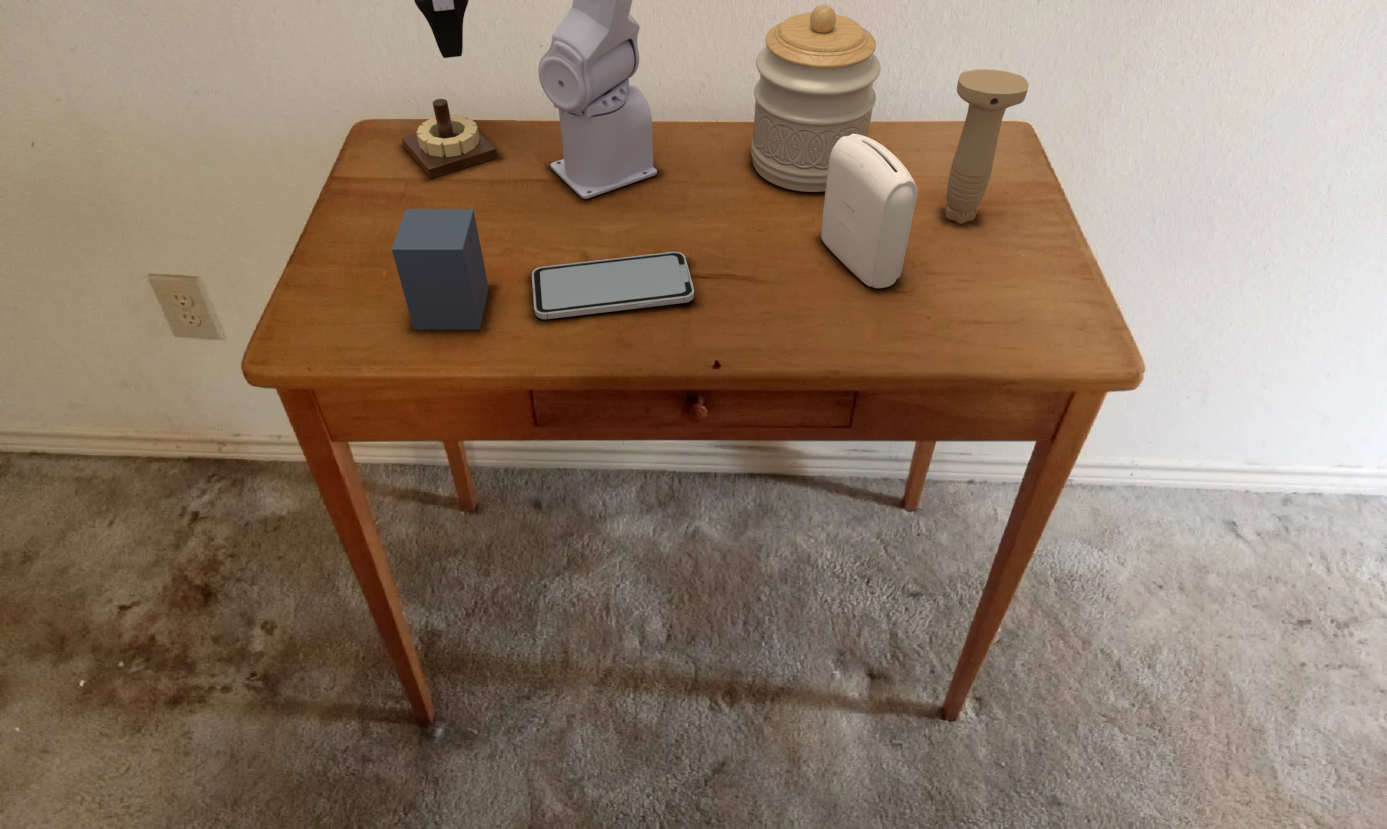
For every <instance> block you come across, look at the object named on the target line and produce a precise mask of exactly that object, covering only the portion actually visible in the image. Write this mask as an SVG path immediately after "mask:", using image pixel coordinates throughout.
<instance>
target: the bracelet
mask: <svg viewBox="0 0 1387 829" xmlns="http://www.w3.org/2000/svg"><path fill="white" fill-rule="evenodd" d="M450 117H451V123H452V128H453V133H456V134H459V135H458V136H456V137H451V138H445V139H444V138H438V136H439V132H438V127H437V122H436V118H434V117H431V118H428V119H427V120H425V121H424V122H421V124H420V125H418V127H417V130H416V134H417V138H418V142H419V146H420V148H421V149H422V150H423V151H424V152H425V153H426V154H427V153H429V155H431V156H437V157H443V156H444V155H446V157H452V156H459V155H461V152H462V153H464V154H466V153H467V152H469V151H471V150H472V149H474V148H475V146H477V145H478V142H479V138H480V137H479V133H480V131H479V126H478V123H476V121H474V119H472V118H470V117H469V118H468V116H466V115H461V114H453V115H451V114H450ZM478 131H479V132H478Z"/></svg>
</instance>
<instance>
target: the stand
mask: <svg viewBox="0 0 1387 829" xmlns="http://www.w3.org/2000/svg"><path fill="white" fill-rule="evenodd" d="M432 108H433V112H434V117H435V119H436V122H437V127H438V132H439V136H438V138H444V139H445V138H451V137H456V136H458V135H459V134H456V133H453V128H452V123H451V117H452V116H451V117H450V115H451V112H450V108H449V103H448V100H446V99H445V98H437V99H435V100H433V101H432ZM478 132H479V137H480V138H479V142H478V145H477V146H475V148H474V149H472V150H471V151H469V152H467V153H466V154H464V153H462V152H461V155H459V156H452V157H446V155H444V156H443V157H437V156H431V155H429V153H427V154H426V153H425V152H424V151H423V150H422V149H421V148H420V146H419V142H418V138H417V133H414V134H411V135H407V136H403V137H402V138H401V141H402V145H403V148H404V149H405V150H406V151H407V153H408V154H409V155H410V156H411V157H412V159H413V160H414V161H415V162H416V163H417V164H418V166H420V168H421V170H423V172H425V174H426V175H427V176H428V177H429V178H430V179H435V178H438V177H441V176H444V175H447V174H451V173H454V172H458V171H460V170H464V169H467V168H469V167H474V166H476V165H480V164H483V163H486V162H489V161H492V160H495V159H497V158H498V156H497V149H496V148H495V147H494V146H493V144H491V142H490V141H488V139H486V137H485V136H484V135H483V134H482V133H481V132H480V131H479V130H478Z"/></svg>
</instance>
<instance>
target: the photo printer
mask: <svg viewBox="0 0 1387 829" xmlns="http://www.w3.org/2000/svg"><path fill="white" fill-rule="evenodd" d="M917 197H918V188H917V184H916V181H915V180H914V178H913V176H912V175H911V173H910V172H909V170H908V169H907V167H906V166H905V165H904V164H903V162H902V161H901V160H900V159H899V158H898V157H897V156H896V155H895V154H894V153H892V151H890V149H888V148H887V147H886V146H884V145H883V144H882V143H880V142H879V141H877V140H874V139H873V138H871V137H869V136H868V137H866V136H863V135H859V134H851V135H849V136H843V137H841V138H840V139H839V140H838V141H837V143H836V144H835V145H834V147H833V149H832V152H831V154H830V159H829V168H828V175H827V184H826V191H824V202H823V210H822V218H821V227H820V228H821V229H820V238H821V240H822V243H823V244H824V245H825V246H826V247H827V248H828V249H829V251H830V252H831V253H832V254H833V255H834V256H835V257H836V258H837V259H838V260H839V261H840V262H841V263H842V264H843V265H844V266H845V267H846V269H848V270H849V271H850V272H851V273H853V275H854V276H855V277H857V278H858V279H859V280H860V281H861V282H862V283H863V284H864V285H866V286H868V287H869V288H871V287H872V288H873V289H884V288H885V289H886V288H889V287H891V286H892V285H894V284H895V283H896V282H897V280H898V279H899V278H901V275H902V272H903V267H904V262H905V256H906V251H907V246H908V241H909V236H910V231H911V228H912V227H911V226H912V223H913V222H912V221H913V218H914V212H915V207H916V202H917Z"/></svg>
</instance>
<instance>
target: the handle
mask: <svg viewBox="0 0 1387 829" xmlns="http://www.w3.org/2000/svg"><path fill="white" fill-rule="evenodd" d="M1029 84H1030V83H1029V81H1028V80H1027V79H1026V78H1025V77H1024V76H1022V75H1021V74H1017V73H1013V72H1010V71H1005V70H998V69H987V68H986V69H973V70H966V71H962V72H961V73H960V74H959V76H958V80H957V85H956V93H957V95H958V97H959V98H960V99H962V100H963V101H964V102H966V103H967V104H968V107H967V113H966V116H965V119H964V123H963V126H962V130H961V133H960V137H959V141H958V144H957V146H956V150H955V153H954V156H953V159H952V162H951V166H950V171H949V175H948V180H947V187H946V198H945V199H946V200H945V203H944V212H945V218H946V219H947V220H950V221H953V222H956V223H957V224H958V225H964V224H965V223H967V222H973V221H974V220H975V218H976V216H977V214H978V208H979V207H980V204H981V203H982V201H983V198H984V196H985V193H986V191H987V188H988V185H989V182H990V177H991V174H992V171H993V165H994V161H995V157H996V156H995V155H996V150H997V147H998V141H999V140H998V139H999V136H1000V132H1001V128H1002V127H1001V126H1002V122H1003V118H1004V115H1005V113H1006V110H1007V109H1008V108H1010V107H1013V106H1018V105H1020V104H1022V103H1023V102H1024V101H1025V100H1026V97H1027V94H1028V91H1029V87H1030V86H1029Z"/></svg>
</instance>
